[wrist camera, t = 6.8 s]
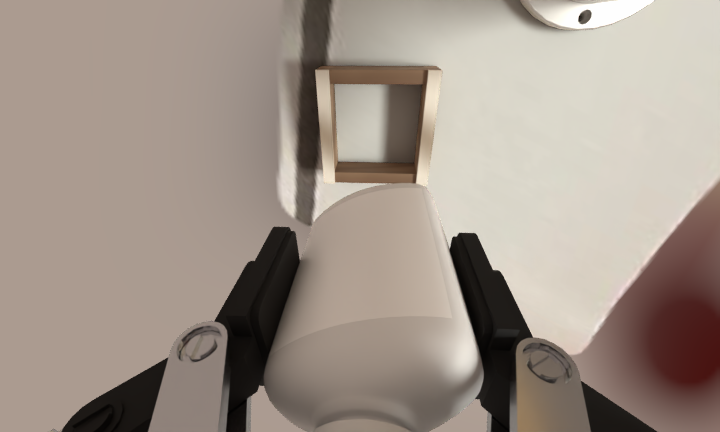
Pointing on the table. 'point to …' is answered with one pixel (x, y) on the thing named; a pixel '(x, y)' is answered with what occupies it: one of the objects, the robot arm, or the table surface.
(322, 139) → the walnut collar
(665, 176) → the table surface
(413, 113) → the table surface
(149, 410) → the robot arm
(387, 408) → the eye dropper bottle
